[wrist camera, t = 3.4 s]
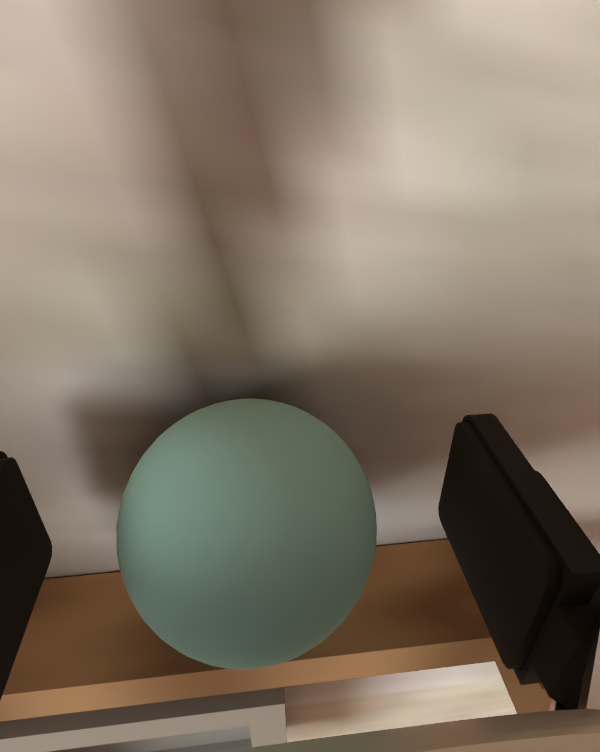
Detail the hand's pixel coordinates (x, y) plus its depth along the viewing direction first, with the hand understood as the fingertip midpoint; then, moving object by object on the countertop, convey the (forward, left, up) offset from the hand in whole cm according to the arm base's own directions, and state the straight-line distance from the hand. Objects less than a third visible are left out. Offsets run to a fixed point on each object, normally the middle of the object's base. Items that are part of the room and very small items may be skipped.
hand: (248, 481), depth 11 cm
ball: (0, 0, -1) cm, 1 cm away
